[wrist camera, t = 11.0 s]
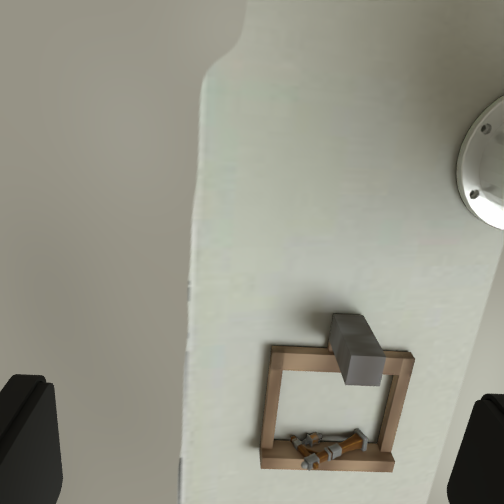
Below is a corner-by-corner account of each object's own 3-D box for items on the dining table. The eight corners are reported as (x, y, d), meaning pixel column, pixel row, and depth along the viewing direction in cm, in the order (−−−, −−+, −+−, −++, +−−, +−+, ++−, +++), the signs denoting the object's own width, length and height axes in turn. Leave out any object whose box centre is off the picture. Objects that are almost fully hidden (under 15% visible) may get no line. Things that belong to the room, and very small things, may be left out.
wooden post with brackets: (283, 435, 48) (306, 465, 44) (343, 413, 51) (369, 439, 48) (283, 447, 49) (305, 479, 45) (341, 425, 52) (367, 452, 48)
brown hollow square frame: (419, 318, 44) (451, 360, 37) (384, 454, 50) (407, 509, 44) (275, 310, 43) (283, 352, 36) (259, 450, 49) (263, 506, 43)
